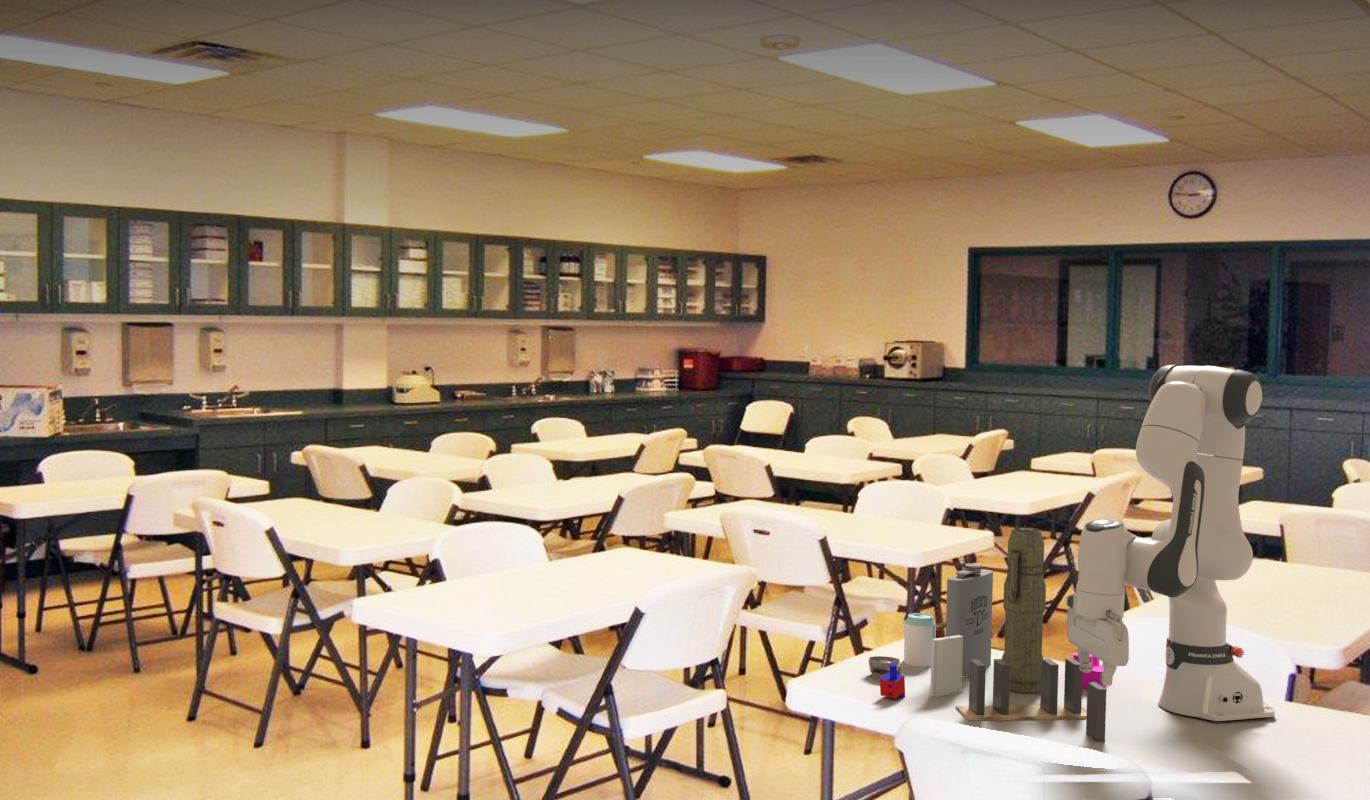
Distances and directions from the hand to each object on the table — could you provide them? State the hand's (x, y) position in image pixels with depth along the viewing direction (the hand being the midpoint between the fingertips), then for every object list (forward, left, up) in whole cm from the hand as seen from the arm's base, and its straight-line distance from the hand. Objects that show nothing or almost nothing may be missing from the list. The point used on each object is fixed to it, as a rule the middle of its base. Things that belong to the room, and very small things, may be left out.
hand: (1095, 678), depth 246 cm
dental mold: (+30, -42, -12) cm, 53 cm away
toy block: (-17, -40, -12) cm, 45 cm away
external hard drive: (+19, -30, -12) cm, 38 cm away
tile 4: (+2, -16, -11) cm, 20 cm away
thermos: (+1, -34, -12) cm, 36 cm away
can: (+18, -54, -12) cm, 59 cm away
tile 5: (-3, -16, -11) cm, 20 cm away
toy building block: (+32, -27, -12) cm, 43 cm away
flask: (+8, -48, -12) cm, 50 cm away
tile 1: (+17, -16, -11) cm, 26 cm away
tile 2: (+12, -16, -11) cm, 23 cm away
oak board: (+7, -16, -12) cm, 21 cm away
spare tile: (-1, 0, -12) cm, 12 cm away
